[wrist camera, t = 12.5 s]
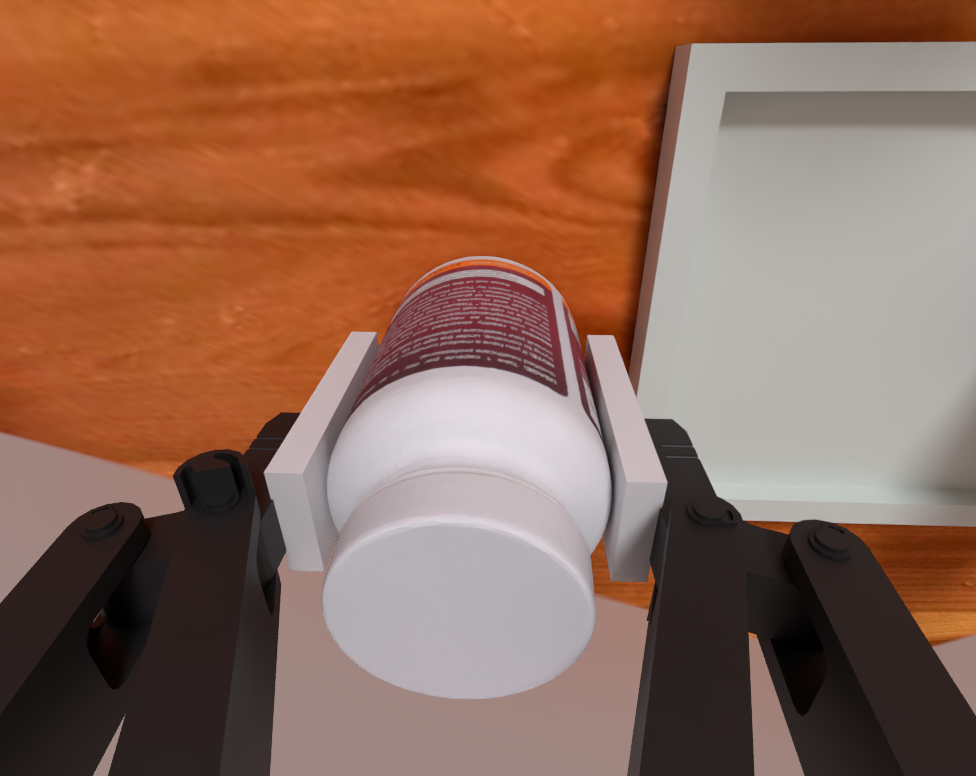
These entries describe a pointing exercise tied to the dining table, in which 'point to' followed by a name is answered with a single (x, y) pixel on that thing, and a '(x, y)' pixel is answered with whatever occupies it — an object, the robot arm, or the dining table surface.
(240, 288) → the dining table surface
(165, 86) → the dining table surface
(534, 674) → the pill bottle
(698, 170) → the tray
